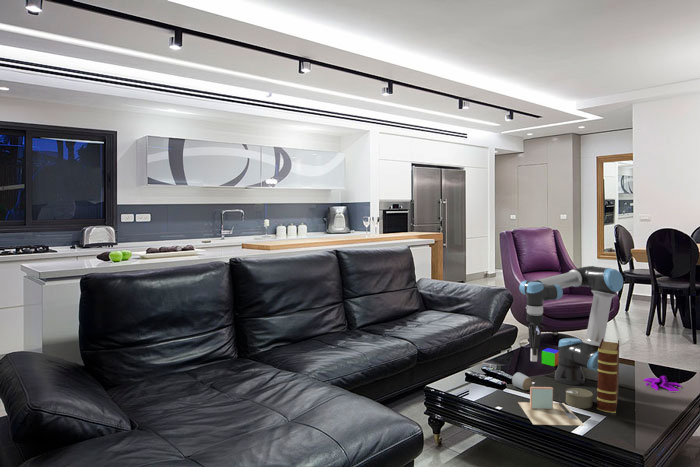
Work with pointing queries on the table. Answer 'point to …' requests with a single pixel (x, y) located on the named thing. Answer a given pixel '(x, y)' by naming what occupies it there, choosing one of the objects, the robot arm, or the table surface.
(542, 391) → the tile
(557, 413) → the board
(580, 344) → the robot arm
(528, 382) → the grey cylinder
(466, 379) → the table surface
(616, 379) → the decorative book
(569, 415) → the turner
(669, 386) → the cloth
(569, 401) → the beige short cylinder
